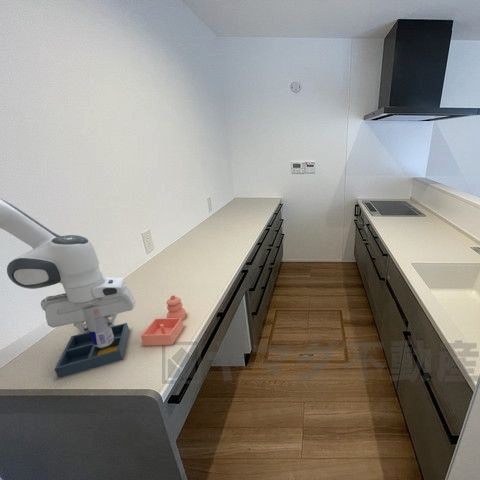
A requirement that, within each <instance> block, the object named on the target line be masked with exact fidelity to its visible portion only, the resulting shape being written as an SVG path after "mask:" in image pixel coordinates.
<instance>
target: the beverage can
mask: <svg viewBox="0 0 480 480" xmlns="http://www.w3.org/2000/svg"><path fill="white" fill-rule="evenodd" d="M98 306H99V305H98ZM83 312H84V315H85V318H86V321H84V323H85V325H87V327H88V330H89V333H90V336H91V338H92V341H93V344H94V346H95V347H97V348H104V347H107V346H109V345H110V344H111V343H112V342H113V341H114V335H113V332H112V329H111V327H109V325H108V322H109V320H110V319H109V317H108V316H109V315H108V316H104V317H101V315H100V312H99V308H98V307H97V306H91V307H87V308H85V309H83Z"/></svg>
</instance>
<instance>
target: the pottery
mask: <svg viewBox="0 0 480 480" xmlns="http://www.w3.org/2000/svg"><path fill="white" fill-rule="evenodd" d="M166 309H167V313H166V318H165V317H163V318H161V317H160V318H154V319H153V320H152V321H151V322H150V324H149V325H148V326H147V328H146V329H145V330H144V331H143V333H141V335H140V338H141V341H142V345H143V346H173V344H174V343H175V341H176V340H177V339H178V337H179V335H180V334H181V332H182V331H183V329H184V328H185V327H184V320H185V319H186V315H187V311H186V309H185V308H184V307H183V302H182V298H181V297H180V296H176V295H174V294H173V295H171V296H170V297H169V298H168V299H167V300H166Z"/></svg>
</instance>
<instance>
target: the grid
mask: <svg viewBox="0 0 480 480" xmlns="http://www.w3.org/2000/svg"><path fill="white" fill-rule="evenodd" d="M111 329H112V332H113V335H114V341H113V342H112V343H111V344H110V345H109V346H107V347H104V348H97V347H95V346H94V344H93V341H92V338H91V336H90V333H89V332H87V333H82V332H81V333H78V334H74V335H71V336H70V338H69V340H68V342H67V344H66V346H65V347H64V350H63V352H62V354H61V355H60V358H59V359H58V360H57V364H56V365H55V367H54V371H55V374H56V376H57V378H58V379H60V378H64V377H68V376H71V375H75V374H78V373H82V372H84V371H88V370H91V369H96V368H99V367H101V366H106V365H109V364H113V363H117V362H119V361H123V359H124V356H125V351H126V346H127V342H128V337H129V333H130V328H129V325H128V323H127V322H124V323H120V324H115V326H112V327H111Z"/></svg>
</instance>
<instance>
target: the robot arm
mask: <svg viewBox="0 0 480 480" xmlns="http://www.w3.org/2000/svg"><path fill="white" fill-rule="evenodd" d="M0 229H1V230H4V231H5V232H7V233H9V234H10V235H12V236H14V237H15V238H16V239H18V240H20V241H22V242H23V243H24V244H26V245H28V246H30V247H31V248H32V250H29V251H26V252H25V253H23V254H22V253H21V255H19V256H17V257H15V258H14V259H13V260H11V261H10V262H8V264H7V267H6V274H7V277H8V279H9V280H10V281H11V282H12V283H13V284H15V285H16V286H18V287H21V288H23V289H30V290H37V289H42V288H47V287H50V286H54V285H57V284H61V285H62V287H63V290H64V293H60V294H56V295H55V294H54V295H49V296H46V297H45V298H43V299H42V300H41V301H40V307H41V309H42V311H44V315H45V320H46V323H47V326H48V327H50V328H52V329H53V328H59V327H64V326H67V325H68V326H69V325H71V324H72V325H73V326H74V327H75V328H77V329H79V330H80V331H81V330H82V331H81V334H82V333H87V332H89V330H88V327H87V325H86V323H82V321H84V322H85V321H86V318H85V315H84V312H83V309H85V308H87V307H91V306H97V307H98V308H99V312H100V315H101V317H104V316H109V317H110V319H109V322H108V325H109V327H112V326H115V325H117V323H116V318H117V316H118V314H122V313H126V312H130V311H133V310H134V308H135V306H136V300H135V297H134V295H133V292H132V290H131V288H130V287H128V286H127V285H126V280H125V278H123V277H112V276H111V277H110V276H104V274H103V273H102V271H101V270H100V261H99V258H98V255H97V252H96V249H95V247H94V245H93V244H92V242H91V241H90V240H89V239H88V238H87V237H85V236H82V235H77V234H67V235H59V234H57V233H56V232H53V231H52V230H51V229H49V228H48V227H46V226H45V225H44V224H42V223H40V222H39V221H38V220H36V219H35V218H33V217H32V216H30V215H29V214H27V213H26V212H25V211H23V210H21V209H20V208H18V207H17V206H15V205H13V204H12V203H11V202H8V201H7V200H4V199H2V198H0ZM98 305H99V306H98Z"/></svg>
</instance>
